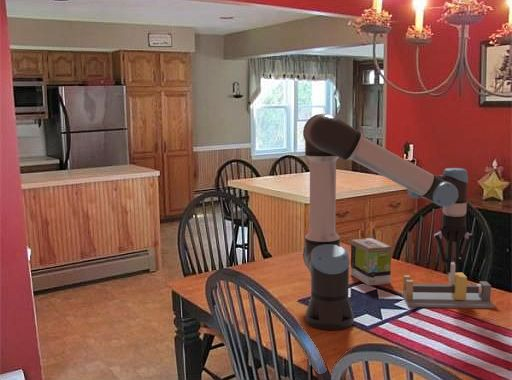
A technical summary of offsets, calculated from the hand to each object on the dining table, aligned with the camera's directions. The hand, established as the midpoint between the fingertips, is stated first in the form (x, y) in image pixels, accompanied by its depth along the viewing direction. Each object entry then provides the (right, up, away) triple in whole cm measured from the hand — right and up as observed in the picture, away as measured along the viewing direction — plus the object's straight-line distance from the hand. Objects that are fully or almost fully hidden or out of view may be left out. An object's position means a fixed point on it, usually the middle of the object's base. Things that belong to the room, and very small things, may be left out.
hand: (451, 281), depth 184 cm
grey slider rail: (-1, -7, +1) cm, 7 cm away
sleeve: (+3, -6, +1) cm, 6 cm away
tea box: (-23, -4, +26) cm, 34 cm away
